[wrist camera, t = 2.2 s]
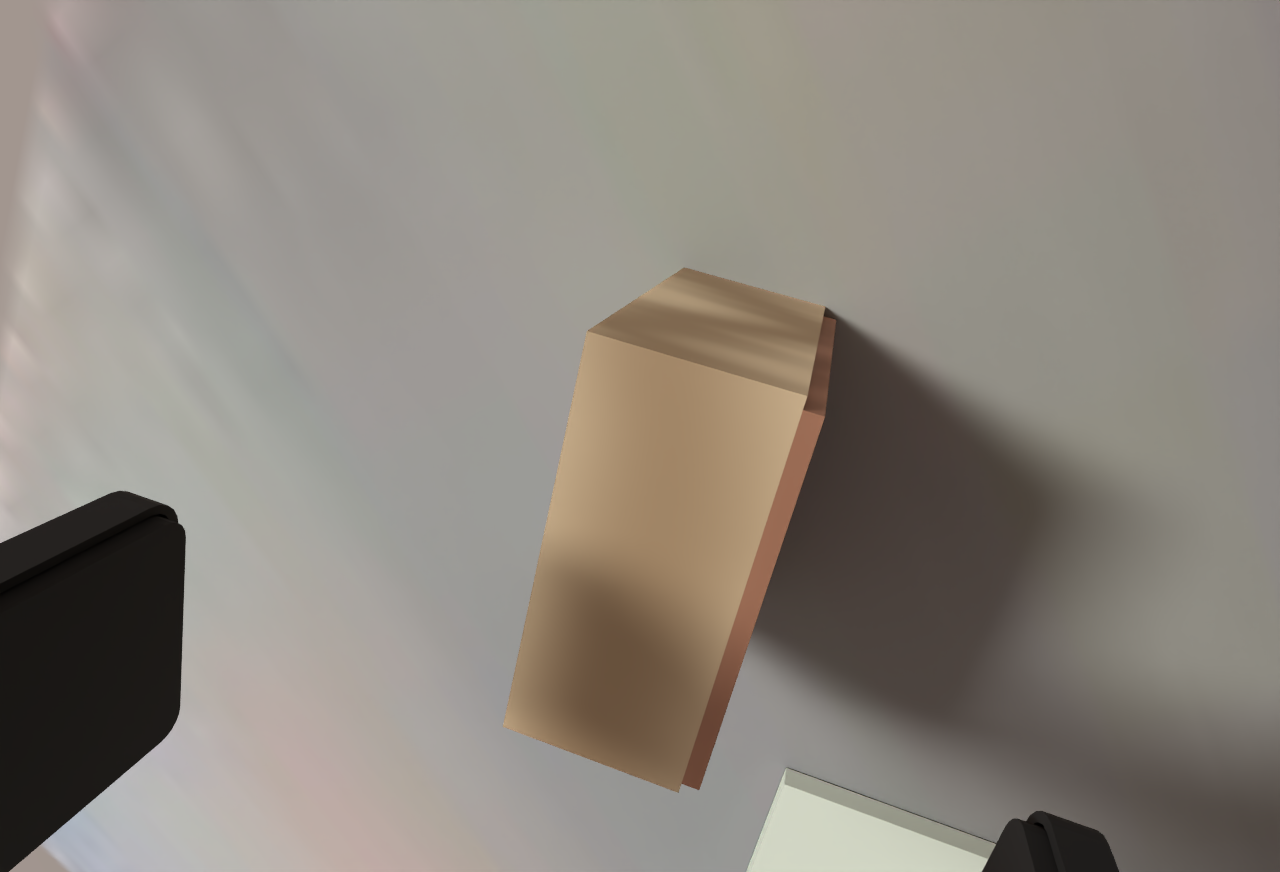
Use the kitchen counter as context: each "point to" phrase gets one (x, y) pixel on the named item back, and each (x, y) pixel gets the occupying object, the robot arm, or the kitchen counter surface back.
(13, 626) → the robot arm
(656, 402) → the tan wooden block
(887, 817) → the mat
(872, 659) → the kitchen counter surface
